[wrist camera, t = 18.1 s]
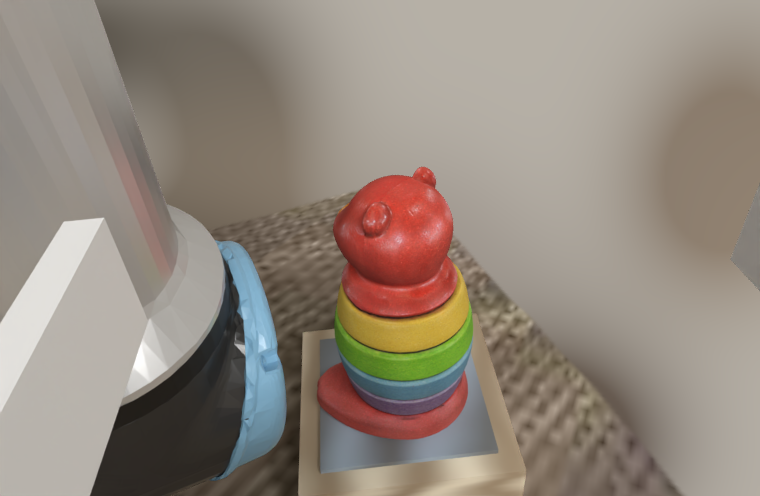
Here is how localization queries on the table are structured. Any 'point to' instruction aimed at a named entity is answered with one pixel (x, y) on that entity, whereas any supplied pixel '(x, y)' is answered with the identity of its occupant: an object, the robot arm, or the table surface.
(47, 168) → the robot arm
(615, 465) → the table surface
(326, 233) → the table surface
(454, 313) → the stacking bear
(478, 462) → the plinth
